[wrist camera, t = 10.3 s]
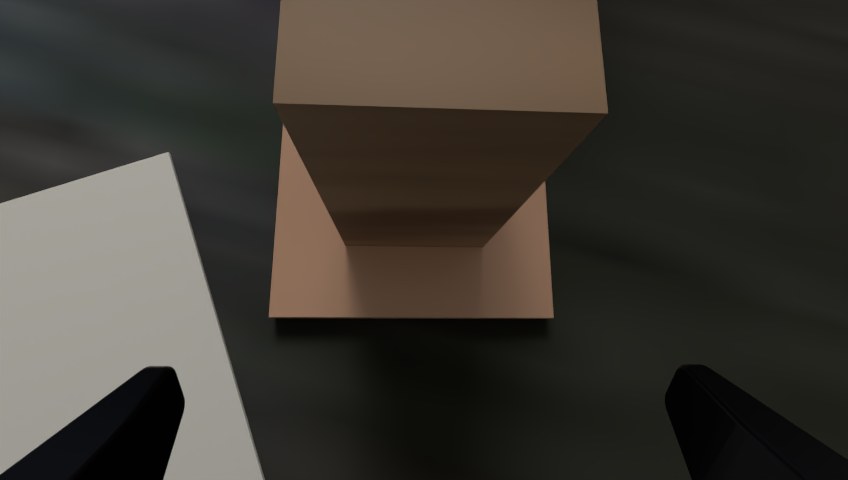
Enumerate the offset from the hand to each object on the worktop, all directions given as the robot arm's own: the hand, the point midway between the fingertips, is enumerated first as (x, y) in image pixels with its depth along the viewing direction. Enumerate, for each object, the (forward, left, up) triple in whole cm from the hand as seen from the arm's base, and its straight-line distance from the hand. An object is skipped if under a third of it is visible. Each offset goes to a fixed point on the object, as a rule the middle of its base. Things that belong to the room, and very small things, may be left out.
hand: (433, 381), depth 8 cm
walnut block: (+7, +1, -8) cm, 10 cm away
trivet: (+6, +1, -8) cm, 11 cm away
